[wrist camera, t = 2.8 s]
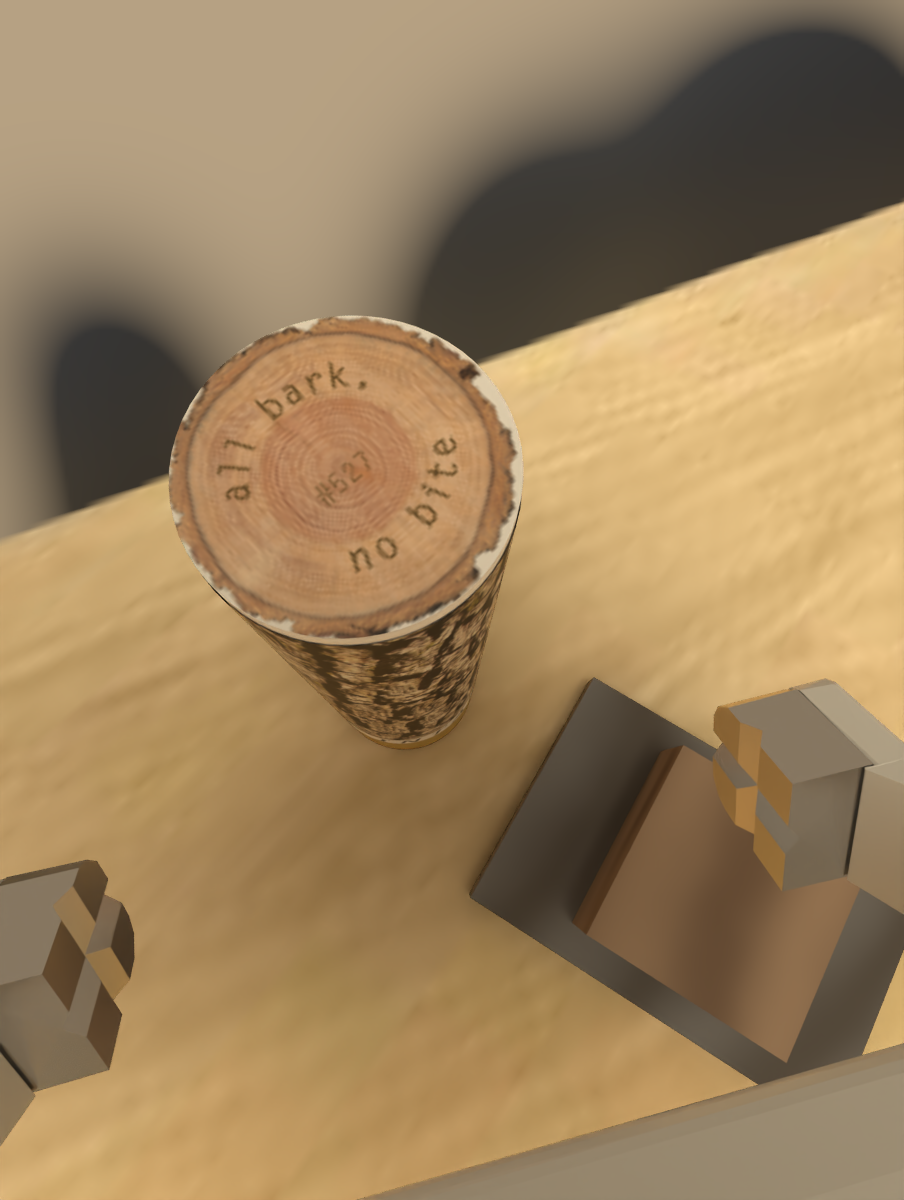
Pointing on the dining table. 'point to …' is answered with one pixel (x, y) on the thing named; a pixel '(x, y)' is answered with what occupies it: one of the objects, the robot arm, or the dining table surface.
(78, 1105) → the dining table surface
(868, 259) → the dining table surface
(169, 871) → the dining table surface
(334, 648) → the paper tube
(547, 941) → the plinth
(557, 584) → the dining table surface
